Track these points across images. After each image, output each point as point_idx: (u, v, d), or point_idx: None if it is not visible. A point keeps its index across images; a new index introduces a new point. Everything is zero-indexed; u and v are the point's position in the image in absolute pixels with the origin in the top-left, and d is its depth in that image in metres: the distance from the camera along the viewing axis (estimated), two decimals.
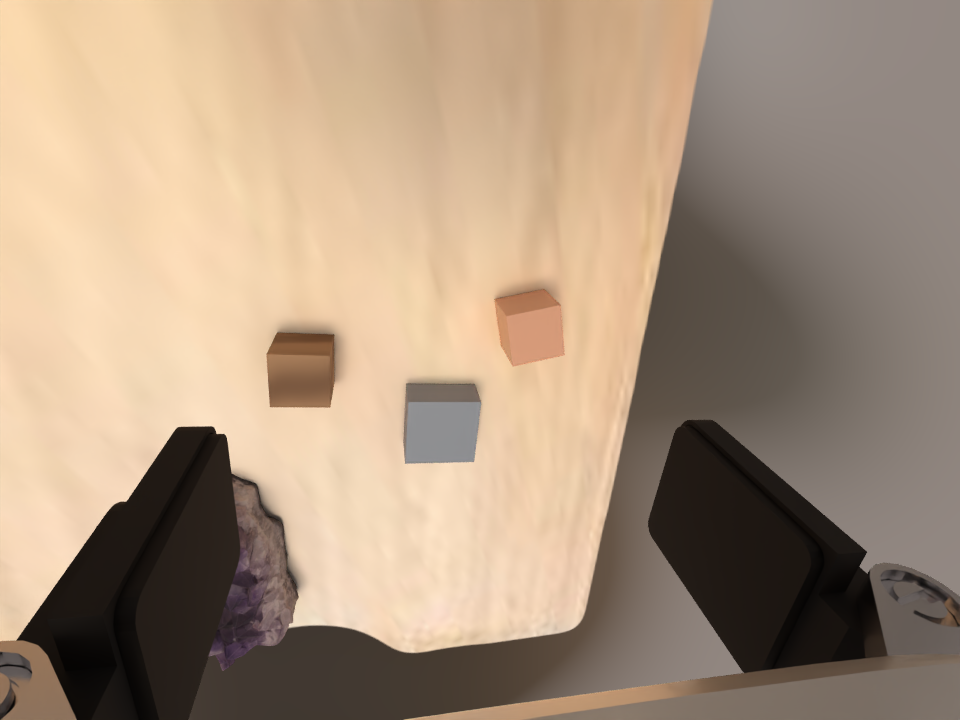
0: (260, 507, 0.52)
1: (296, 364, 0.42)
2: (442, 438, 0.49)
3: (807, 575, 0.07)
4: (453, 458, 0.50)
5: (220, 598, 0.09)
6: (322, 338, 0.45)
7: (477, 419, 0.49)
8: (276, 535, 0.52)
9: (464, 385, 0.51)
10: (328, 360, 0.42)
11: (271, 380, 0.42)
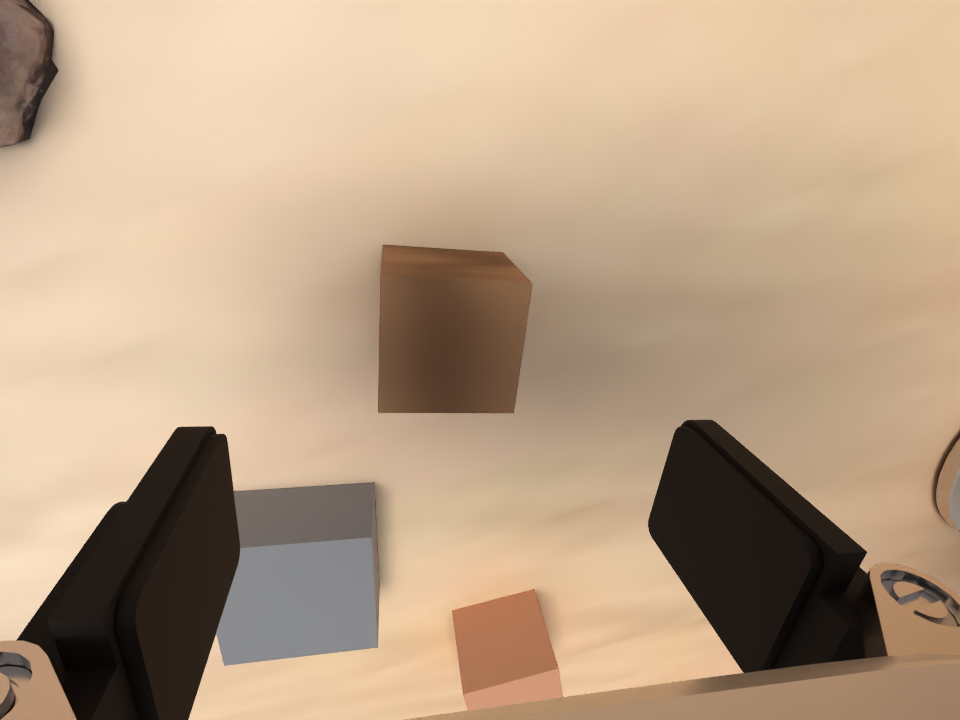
0: None
1: (500, 347, 0.17)
2: (280, 606, 0.22)
3: (807, 575, 0.07)
4: (227, 632, 0.22)
5: (220, 598, 0.09)
6: None
7: (336, 650, 0.24)
8: None
9: (378, 574, 0.27)
10: (503, 411, 0.19)
11: (460, 287, 0.16)
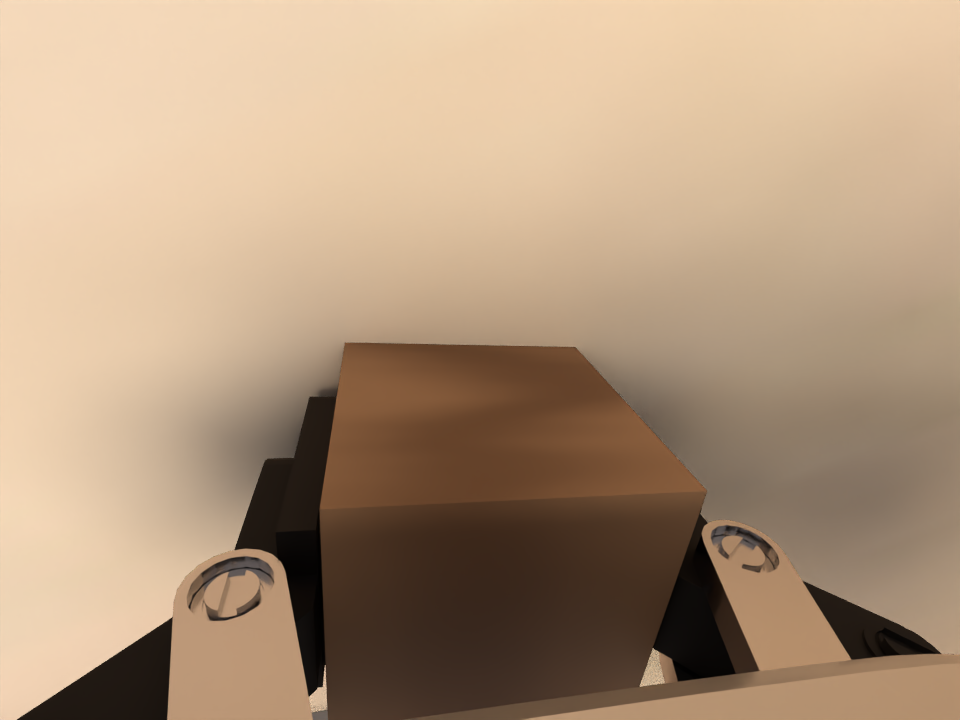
0: None
1: (614, 619, 0.07)
2: None
3: None
4: None
5: None
6: None
7: None
8: None
9: None
10: None
11: (532, 514, 0.06)
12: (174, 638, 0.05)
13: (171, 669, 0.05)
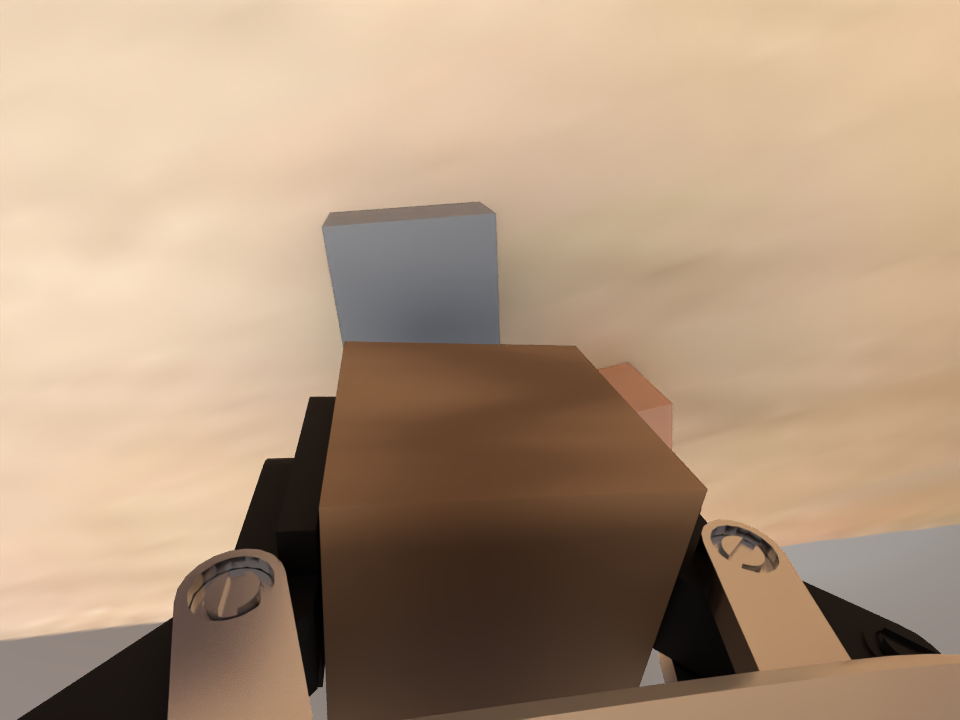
0: None
1: (614, 617, 0.07)
2: (404, 305, 0.21)
3: None
4: (353, 338, 0.22)
5: None
6: None
7: None
8: None
9: None
10: None
11: (532, 512, 0.06)
12: (174, 638, 0.05)
13: (171, 669, 0.05)
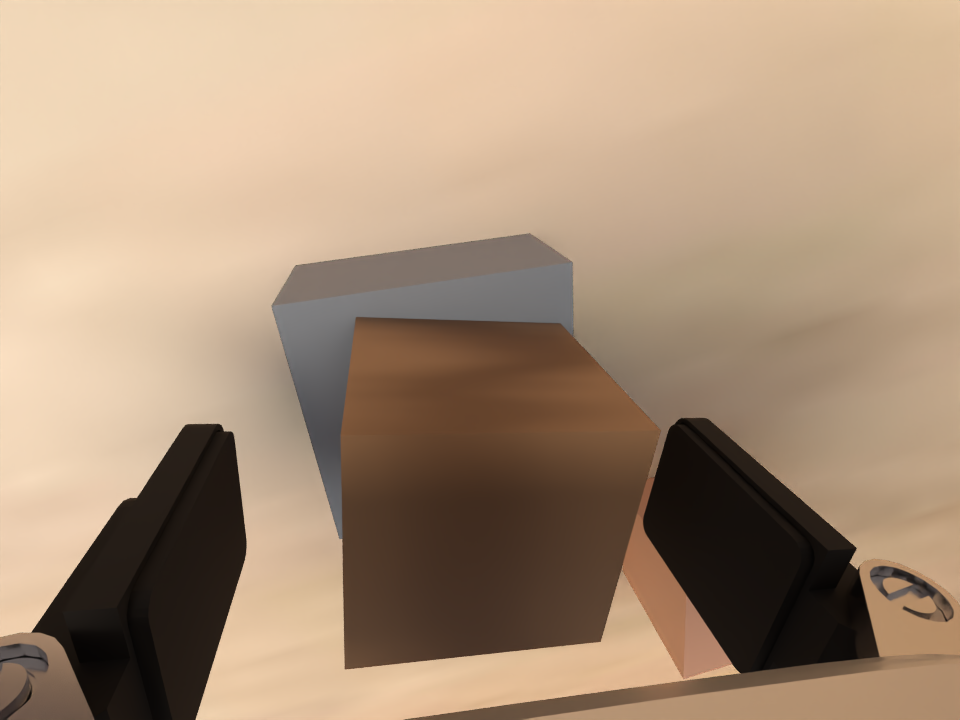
0: None
1: (585, 543, 0.09)
2: None
3: (798, 571, 0.08)
4: (340, 475, 0.13)
5: (227, 594, 0.09)
6: None
7: None
8: None
9: None
10: (582, 641, 0.10)
11: (514, 446, 0.08)
12: None
13: None
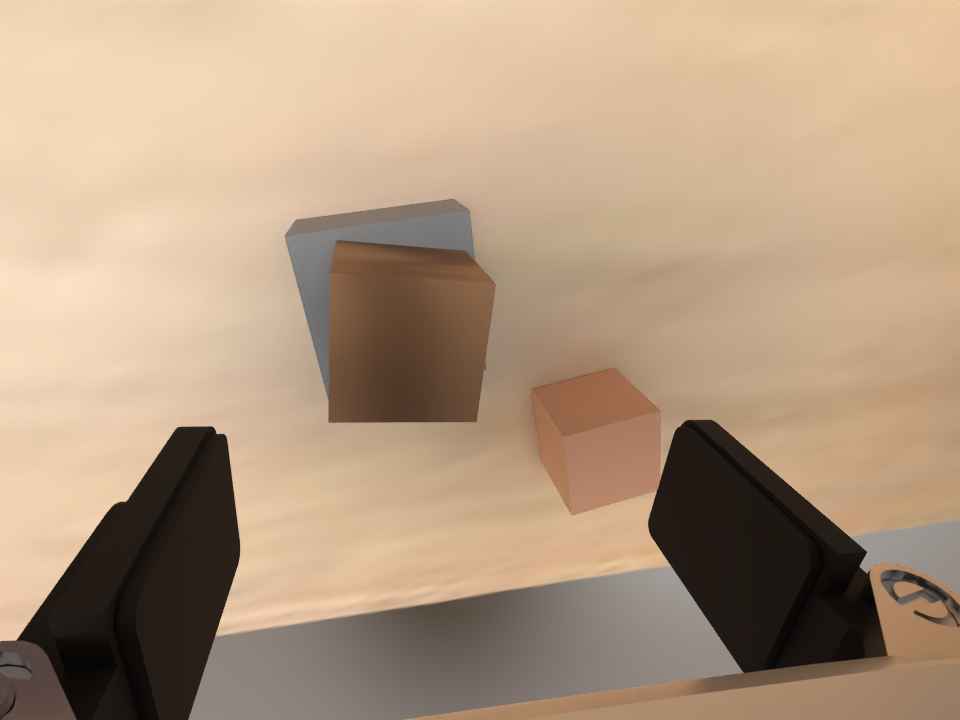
0: None
1: (461, 352, 0.16)
2: None
3: (807, 575, 0.07)
4: (328, 351, 0.21)
5: (220, 598, 0.09)
6: None
7: None
8: None
9: None
10: (465, 419, 0.17)
11: (417, 287, 0.15)
12: None
13: None
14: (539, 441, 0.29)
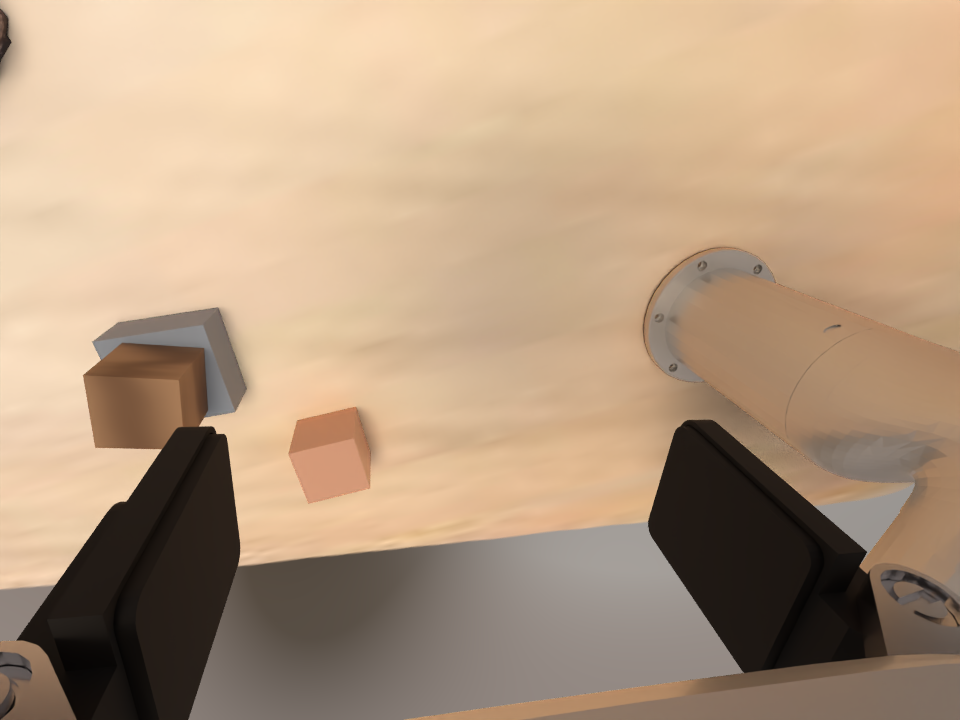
0: None
1: (166, 413, 0.31)
2: None
3: (807, 575, 0.07)
4: None
5: (220, 598, 0.09)
6: (202, 407, 0.35)
7: (206, 415, 0.37)
8: None
9: (241, 378, 0.40)
10: None
11: (133, 381, 0.30)
12: None
13: None
14: None
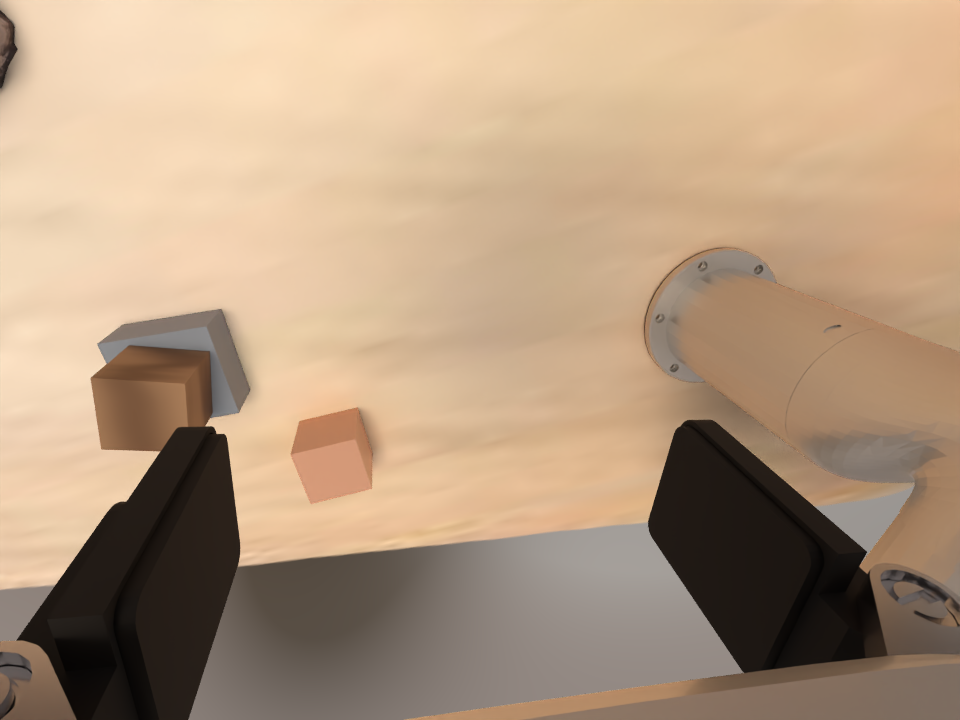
0: None
1: (172, 416, 0.31)
2: None
3: (807, 575, 0.07)
4: None
5: (220, 598, 0.09)
6: (207, 410, 0.35)
7: (211, 415, 0.37)
8: None
9: (245, 379, 0.40)
10: None
11: (140, 384, 0.30)
12: None
13: None
14: None
